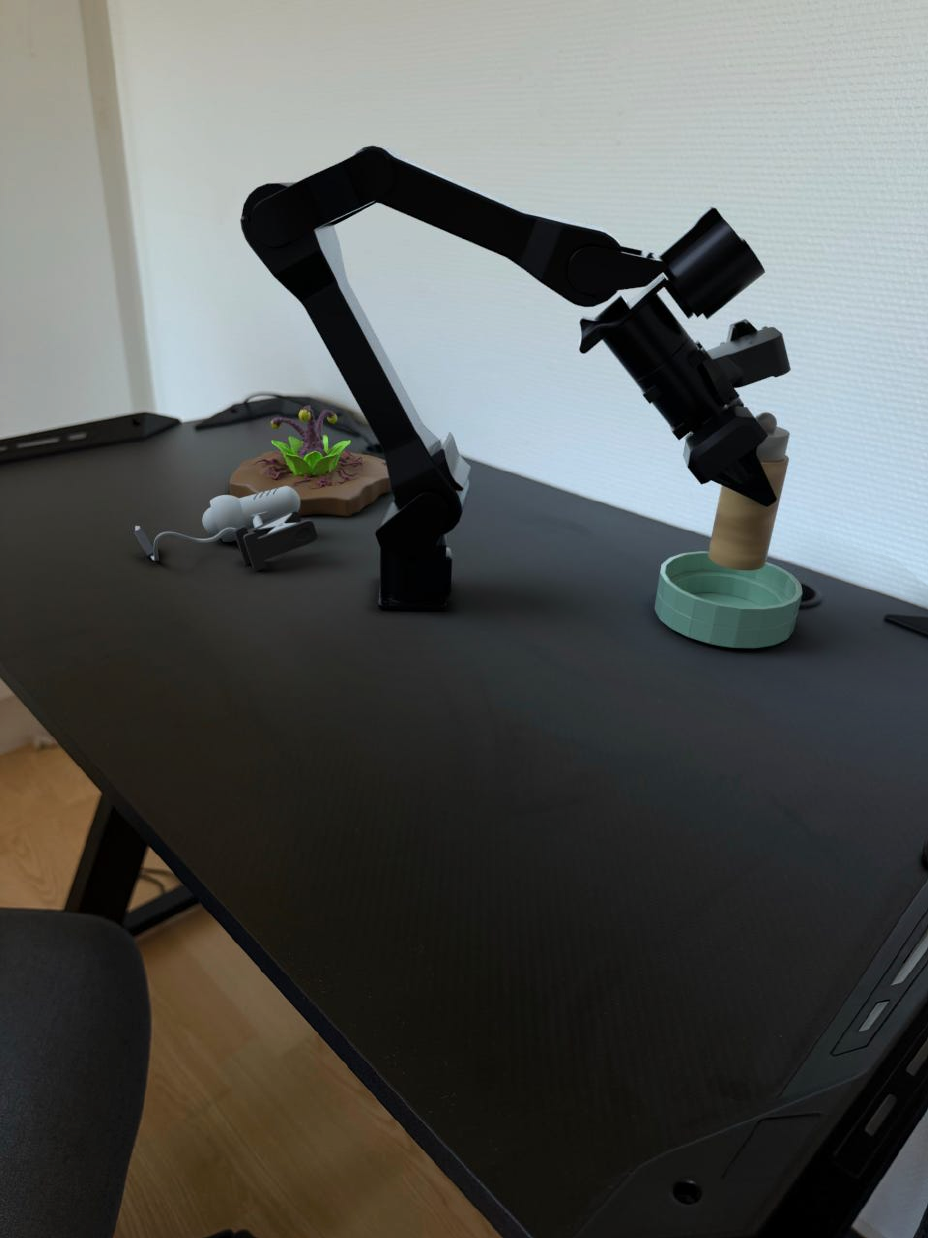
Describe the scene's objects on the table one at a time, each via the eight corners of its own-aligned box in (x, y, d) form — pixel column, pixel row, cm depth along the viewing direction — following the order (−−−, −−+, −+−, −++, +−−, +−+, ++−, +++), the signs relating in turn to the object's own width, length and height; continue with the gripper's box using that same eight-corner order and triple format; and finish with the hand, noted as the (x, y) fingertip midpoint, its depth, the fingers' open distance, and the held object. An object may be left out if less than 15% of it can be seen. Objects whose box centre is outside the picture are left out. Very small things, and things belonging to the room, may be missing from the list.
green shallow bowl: (673, 652, 80) (681, 607, 78) (640, 590, 92) (646, 549, 90) (813, 654, 81) (825, 610, 79) (764, 592, 93) (772, 552, 91)
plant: (206, 507, 108) (197, 414, 102) (264, 460, 125) (259, 379, 120) (367, 524, 105) (367, 430, 100) (404, 473, 122) (405, 391, 117)
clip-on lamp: (151, 606, 90) (323, 555, 94) (129, 554, 86) (309, 502, 90) (145, 552, 99) (302, 507, 103) (125, 502, 96) (288, 457, 99)
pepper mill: (734, 574, 80) (766, 422, 74) (696, 552, 84) (723, 407, 78) (777, 565, 82) (812, 418, 76) (738, 545, 86) (767, 403, 80)
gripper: (764, 307, 64) (880, 468, 69) (724, 278, 81) (820, 409, 85) (638, 407, 68) (755, 553, 73) (625, 360, 85) (721, 481, 89)
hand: (766, 492), depth 80 cm, fingers closed on pepper mill, 5 cm apart
